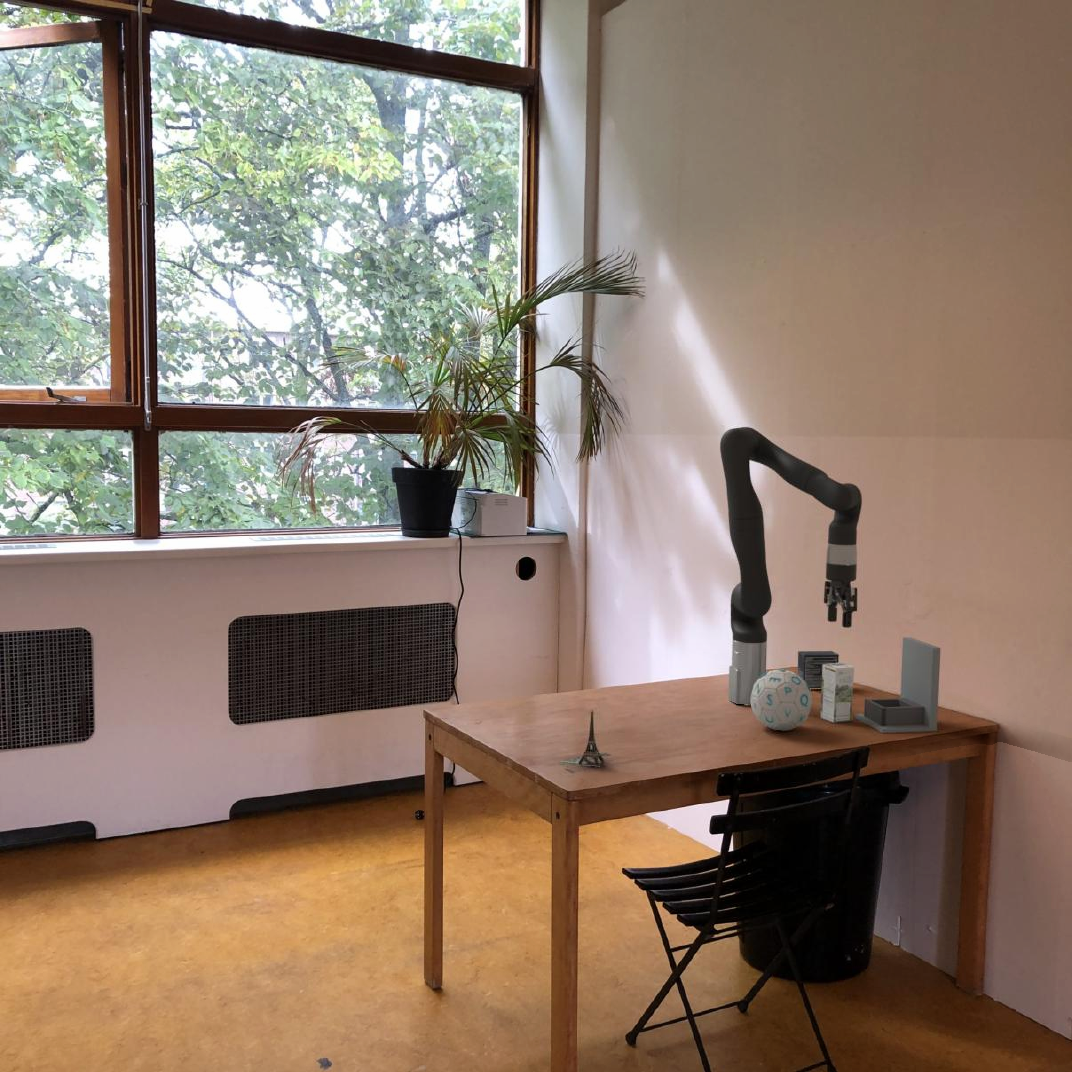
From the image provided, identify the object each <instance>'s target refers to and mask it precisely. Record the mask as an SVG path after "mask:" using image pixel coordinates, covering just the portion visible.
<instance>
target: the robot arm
mask: <svg viewBox="0 0 1072 1072" xmlns="http://www.w3.org/2000/svg"><path fill="white" fill-rule="evenodd" d="M719 450H720V451H719V452H720V458H721V461H722V462H721V463H722V468H723V473H724V478H725V485H726V486H725V488H726V490H725V491H726V499H727V501H726V502H727V510H728V513H727V515H728V526H729V534H730V535H729V536H730V540H731V544H732V548H733V550H734V553H735V556H736V559H737V562H738V565H739V566H738V567H739V574H740V582H739V583H737V584H736V585H735V586H734V588H733V589H732V592H731V596H730V628H731V631H732V646H731V648H732V650H731V651H732V652H731V653H732V655H731V665H729V667H728V668H729V669H728V698H727V699H729V700H728V701H730V702H731V701H732V702H731V703H733V702H734V703H736V704H748V705H747V706H750V705H751V703H750V699H751V694H752V693H751V691H752V688H753V686H754V684H755V683H756V681H757V680H758V679H759V677H760V676H762V675H763V674H765V673H766V672H767V653H768V652H767V648H768V631H767V629H766V627H765V624H764V616H766V615H767V613H769V611H770V609H771V606H772V602H773V600H772V599H773V596H772V591H771V586H770V581H769V575H768V570H767V569H768V568H767V555H766V554H767V553H766V539H765V538H766V537H765V523H764V522H765V521H764V511H763V507H762V505H761V501H760V498H759V497H758V494H757V493H756V490H755V488H754V486H753V482H752V478H751V468H750V467H751V466H750V461H751V462H754V463H758V464H761V465H763V466H765V467H767V468H770V470H772V471H774V472H775V473H776V474H777V475H778V476H780V477H781V479H782V480H783V481H785V482H786V483H787V484H789V485H791V486H792V487H794V488H795V489H797V490H799V491H801V492H803V493H804V494H807V495H808V496H812V497H813V499H815V500H816V501H818V502H820V503H821V504H822V505H824V507H826V508H828V509H830V510H833V511H834V515H833V519H832V521H831V522H830V523H829V525H828V534H827V537H828V538H827V549H826V559H825V560H826V562H825V579H826V580H825V581H824V593H823V603H824V604H826V607H827V621H828V622H830V623H834V622H837V616H838V605H839V606H841V610H842V619H841V623H842V624H841V625H842V626H841V627H842V628H845V629H846V628H851V627H852V626H853V625H852V624H853V623H852V620H853V613H854V612H857V611H858V587H852V584H851V583H852V582H855V581H856V580H857V570H858V568H857V566H858V548H857V539H858V537H857V536H858V525H859V520H860V516H861V511H862V505H863V498H862V492H861V490H860V488H859V487H858V486H857V485H855V484H853V483H851V482H850V483H848V482H846V483H845V482H843V483H841V482H839V481H837V480H834V479H833V478H831V477H829V474H827V472H825V471H823V470H821V469H820V468H818V467H817V466H814V465H812V464H811V463H808V462H806V461H804V460H802V459H801V458H798V457H796V456H794V455H793V454H791V453H789V452H788V451H786V450H784V449H782V447H780V446H779V445H777V444H775V443H774V442H772V441H771V440H770V439H768V438H767V437H766V436H765V435H763V433H760V432H759V431H758V430H756V429H755V428H753V427H749V426H741V427H736V428H735V427H734V428H730V429H727V430H726V431H725V432H724V433H723V434H722V436H721V437H720V443H719ZM734 703H733V704H734ZM736 704H735V705H736Z"/></svg>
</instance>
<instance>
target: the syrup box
mask: <svg viewBox="0 0 1072 1072" xmlns="http://www.w3.org/2000/svg"><path fill="white" fill-rule="evenodd" d="M854 672H855V668H854V666H852V665H850V664H847V663H845V662H839V663H831V664H823V668H822V688H821V690H820V691H821V692H820V693H821V694H820V709H819V710H820V712H819V718H820V719H822V718H823V719H822V720H825V719H826V720H825V721H827V720H828V721H827V722H830V723H833V724H835V723H844V722H845V723H846V722H851V721H852V716H853V715H852V713H853V710H852V709H853V695H854V693H853V692H854V674H855V673H854Z"/></svg>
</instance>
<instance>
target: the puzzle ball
mask: <svg viewBox="0 0 1072 1072" xmlns="http://www.w3.org/2000/svg"><path fill="white" fill-rule="evenodd" d="M751 693H752V694H751V699H750V703H751V707H750V708H751V709H752V713H753V715H754V716H755V717H756V719H757V720H758V721H759V722H760V723H761V724H763V725H764V726H766V727H767V728H769V729H770V730H771V729H772V730H774V731H776V730H781V731H784V732H785V731H792V730H794V729H795V728H798V727H799V726H800V725H802V724H803V723H804V722H806V720H807V719H808V718H809V715H810V713H811V710H812V705H813V694H812V690H810V688H809V686H808V684H807V683H806V682H805V681H804V680H803V678H802V677H801V676H799V675H798V673H797V674H796V673H795V672H793V671H791V670H787V669H773V670H770V671H766V673H765V674H763V675H762V676H760V677H759V679H758V680H757V681H756V683H755V684H754V686H753V688H752V691H751Z"/></svg>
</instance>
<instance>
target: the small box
mask: <svg viewBox="0 0 1072 1072" xmlns="http://www.w3.org/2000/svg"><path fill="white" fill-rule="evenodd" d="M839 658H840V654H838V653H837V652H835V651H833V650H805V651H803V650H802V651H801V650H800V651H797V675H799V676H801V677H802V678H803V680H804V681H805V682H806V683H807V684H808V686H809V688H822V668H823V664H831V663H840V662H839Z"/></svg>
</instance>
